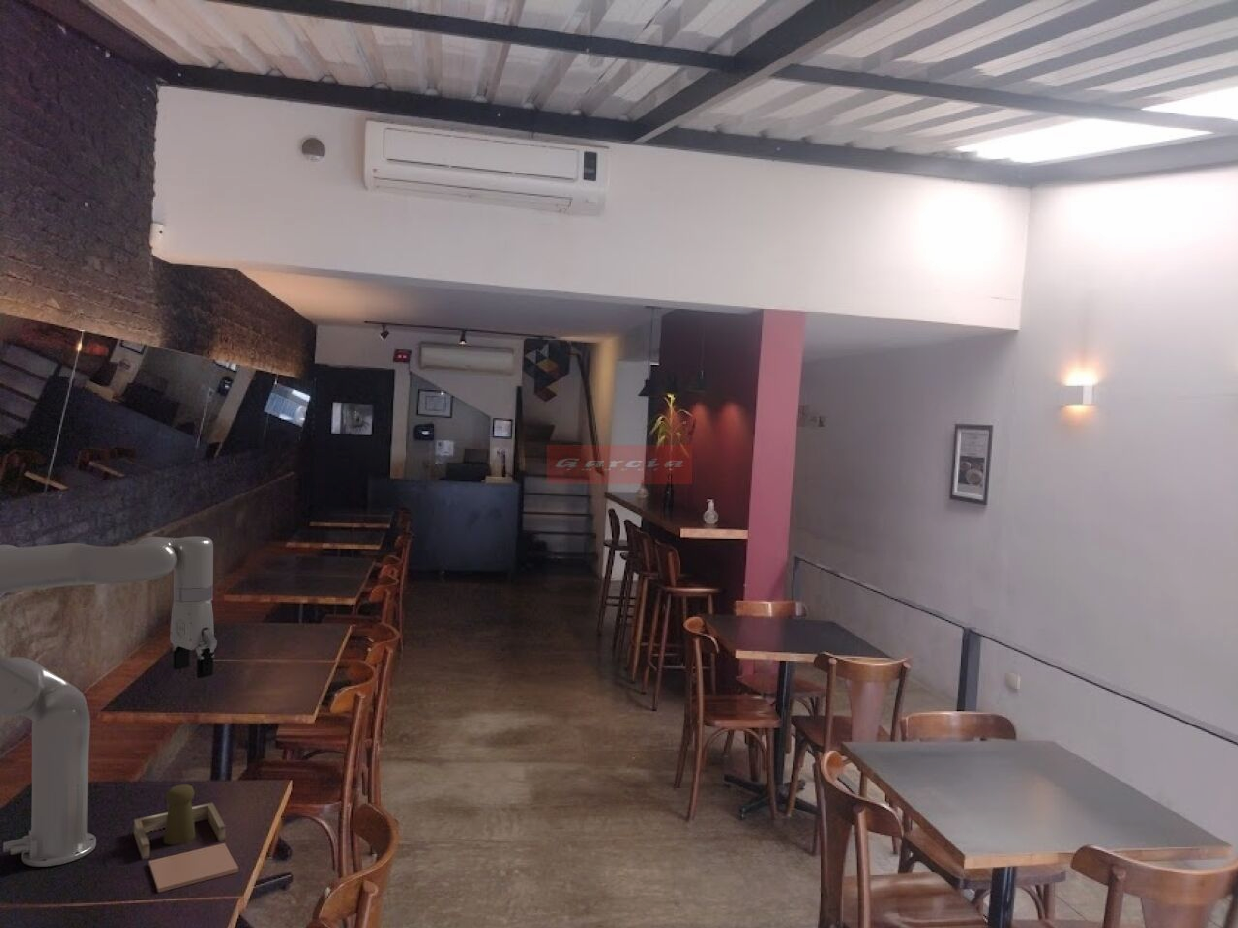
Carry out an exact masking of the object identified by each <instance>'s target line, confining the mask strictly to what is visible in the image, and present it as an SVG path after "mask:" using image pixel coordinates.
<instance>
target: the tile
mask: <svg viewBox="0 0 1238 928" xmlns="http://www.w3.org/2000/svg"><path fill="white" fill-rule="evenodd" d="M148 868H149V870H150V874H151V877H152V878H153V879H152V880H153V882H154V886H155V888H156V891H157V893H158V894H159V893H163V892H167V891H171V890H175V889H178V888H182V887H186V886H191V885H194V884H198V883H202V882H204V881H209V880H213V879H216V878H217V879H218V878H220V877H225V876H228V875H231V874H236V873H238V872H239V867H238V865H237V863H236V862H235V859H234V858H233V856H232V854H231V852H230V849H229V848H228V847H227V845H226V842H223V843H219V844H215V845H210V846H206V847H202V848H197V849H193V850H190V851H186V852H182V853H181V852H180V853H177V854H173V855H169V856H165V857H161V858H156V859H153V860H148Z"/></svg>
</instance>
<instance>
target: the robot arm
mask: <svg viewBox="0 0 1238 928" xmlns="http://www.w3.org/2000/svg"><path fill="white" fill-rule="evenodd" d="M213 571H214V543H213V541H212V539H211V538H210V537H206V536H197V535H196V536H185V537H180V538H179V537H178V538H177V537H176V538H175V537H162V536H161V537H160V536H149V537H146V538H142V539H140V540H139V541H138V542H136V544H133V545H121V546H98V545H92V544H91V545H90V544H87V543H82V542H81V543H80V542H69V543H58V544H48V545H47V544H46V545H36V546H35V545H34V546H25V547H23V546H22V547H18V546H15V545H12V544H0V598H2V597H3V596H4V595H5V594H6V593H13V592H14V593H15V592H24V591H32V590H39V589H40V590H42V589H49V588H51V589H52V588H59V587H70V586H91V585H92V586H93V585H94V586H95V585H111V584H126V583H134V582H144V581H152V580H158V579H161V578H164V577H165V576H168V575H169V574H171V573H172V572H173V604H172V608H171V618H170V630H169V631H170V633H169V635H170V636H169V637H170V642H171V644H173V645H172V651H173V669H174V670H180V669H184V668H188V667H190V651H193V650H195V651H196V654H197V656H198V658H197V659H196V678H198V679H201V678H206V677H211V676H213V673H214V672H213V669H214V667H213V665H214V660H213V659H214V658H215V653H216V647H217V645H218V644H217V643H218V640H217V639H216V637H215V636H214V635H215V633H214V631H215V630H214V627H215V626H214V615H213V614H214V613H213V606H212V601H213V599H214V598H213V597H214V593H213V589H214V586H213V585H214V582H213V579H214V578H213V577H214V574H213V573H214V572H213ZM21 715H22V716H23V717H25V718H27V719H28V720H30V721H31V723H32V724H31V817H30V818H31V823H30V825H31V826H30V830H28V835H25V836H22V838H20V839H15V840H14V839H12V840H9V841H7V840H6V841H4V842H2V843H3V844H2V845H3V847H2V850H3V853H8V852H10V855H11V856H12V855H16V854H19V853H21V861H22V863H23V864H25V865H27V866H30V867H37V868H40V867H42V868H43V867H46V868H47V867H54V866H60V865H64V864H67V863H72V862H73V861H77V860H78V859H81V858H83V857H85V856H86V855H88V854H90V853H91V852H92V851H93V850H94V849H95V847H96V846H97V839H96V836H95V835H93V834H91V833H89V832H88V813H89V812H88V807H89V806H88V805H89V803H88V802H89V801H88V800H89V798H88V797H89V790H88V789H89V746H90V742H89V741H90V730H91V729H90V727H91V726H90V723H91V722H90V721H91V720H90V713H89V707H88V702H87V698H86V696H85V695H84V693H83V692H82V691H81V690H80V689H78V688H77V687H75V685H73V684H71V683H69V682H68V681H66V680H64V678H61V677H60V676H58V675H57V674H55V673H54V672H52V671H50V669H47V668H46V667H44V666H43V665H41V664H40V663H37V662H35V661H34V660H32V659H29V658H26V657H19V656H18V657H15V656H14V657H9V658H5V657H4V656H2V655H0V716H4V717H15V716H16V717H17V716H21Z"/></svg>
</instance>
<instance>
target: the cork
mask: <svg viewBox="0 0 1238 928" xmlns="http://www.w3.org/2000/svg"><path fill="white" fill-rule="evenodd" d="M194 796H195V789H194V787H193V786H192V785H190V784H188V783H187V784H183V783H182V784H176V785H174V786H172V787H170V788H169V790H168V791H167V793H166V802H167V803H168V811H167V812H168V816H167V822H166V828H165V830H164V835H163V843H164V844H166V843H167V844H166V845H172V846H173V845H174V846H176V845H182V844H186V843H188V842H190V841H193V840H194V839H195V838H196V828H195V822H194V819H193V811H192V807H193V806H192V801H193V799H194Z"/></svg>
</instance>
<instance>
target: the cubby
mask: <svg viewBox="0 0 1238 928" xmlns="http://www.w3.org/2000/svg"><path fill="white" fill-rule="evenodd" d="M192 811H193V819H194V823H197V822H201V821H205V820H207V821H208V823H209V825H210V827H211V829H212V831H213V833H214V835H215V837H216V838H217V840H218V842H222V841H225V840H226V824H225V823H224V821H223V819H222V818H221V816H220V814H219V811H218V810H217V808H216V806H215V805H214V803H213V802H210V803H209V802H208V803H204V804H200V805H195V806H194V805H193V806H192ZM167 816H168V811H167V812H162V813H157V814H152V815H148V816H143V817H142V816H141V817H138V818H134V819H133V835H134V838H135V841H136V844H137V847H138V851H139V853H140V857H141V860H142V861H143V860H146V859H150V841H149V838H148V835H147V833H151V832H150V831H152V832H155V831H154V830H156V831H160V830H159V829H161V830H164V829H163V828H166V822H167Z"/></svg>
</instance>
